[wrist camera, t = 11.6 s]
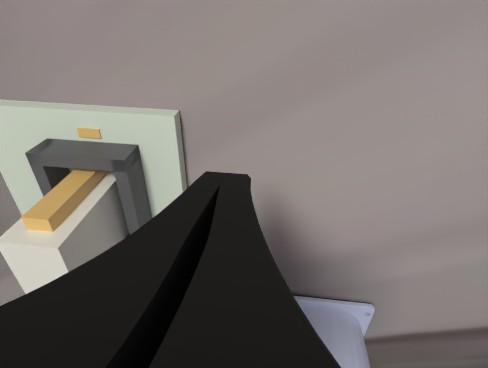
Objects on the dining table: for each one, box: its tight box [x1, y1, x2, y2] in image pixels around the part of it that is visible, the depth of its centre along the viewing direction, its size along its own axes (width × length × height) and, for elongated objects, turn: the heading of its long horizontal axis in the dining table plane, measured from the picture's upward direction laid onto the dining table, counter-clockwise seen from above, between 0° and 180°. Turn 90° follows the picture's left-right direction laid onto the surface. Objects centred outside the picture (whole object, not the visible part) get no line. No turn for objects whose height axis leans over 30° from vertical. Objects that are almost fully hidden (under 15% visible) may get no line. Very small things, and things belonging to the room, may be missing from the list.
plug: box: [0, 168, 129, 294], centre depth 18 cm, size 5×3×7 cm, turn 179°
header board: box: [0, 100, 187, 237], centre depth 22 cm, size 16×13×3 cm
